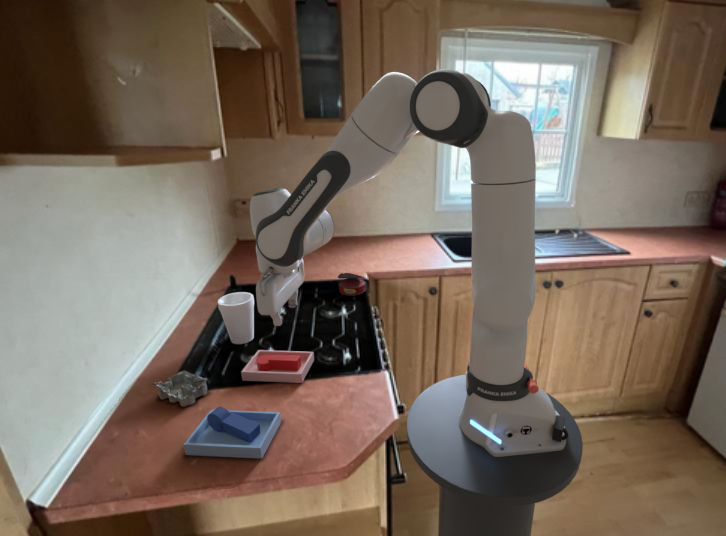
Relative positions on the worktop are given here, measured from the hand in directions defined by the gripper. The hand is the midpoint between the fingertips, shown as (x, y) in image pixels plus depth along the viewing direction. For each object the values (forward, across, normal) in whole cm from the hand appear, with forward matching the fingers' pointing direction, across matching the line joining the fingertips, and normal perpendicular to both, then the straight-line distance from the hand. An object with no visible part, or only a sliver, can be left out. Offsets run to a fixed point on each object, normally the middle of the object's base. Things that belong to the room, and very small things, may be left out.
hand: (286, 315), depth 98 cm
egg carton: (+17, -9, +24) cm, 30 cm away
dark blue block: (+14, -22, +6) cm, 27 cm away
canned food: (+17, +55, -3) cm, 58 cm away
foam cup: (+17, +17, +22) cm, 32 cm away
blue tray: (+17, -22, +5) cm, 28 cm away
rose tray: (+17, +2, +5) cm, 18 cm away
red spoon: (+16, +2, +5) cm, 17 cm away
